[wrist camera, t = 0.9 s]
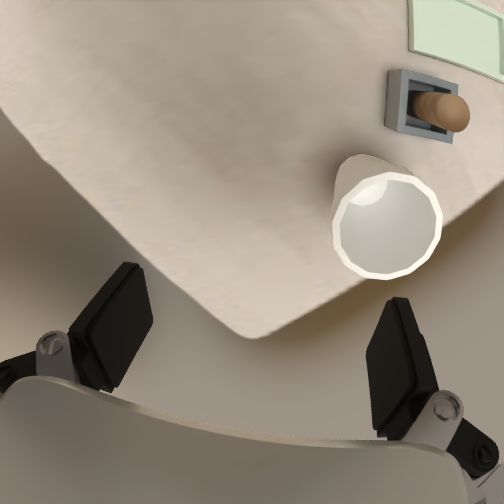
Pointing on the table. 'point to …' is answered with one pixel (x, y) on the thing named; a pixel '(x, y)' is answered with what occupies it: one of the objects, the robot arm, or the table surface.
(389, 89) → the pen cup
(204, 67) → the table surface
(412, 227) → the foam cup
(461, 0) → the tray
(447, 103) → the dowel
